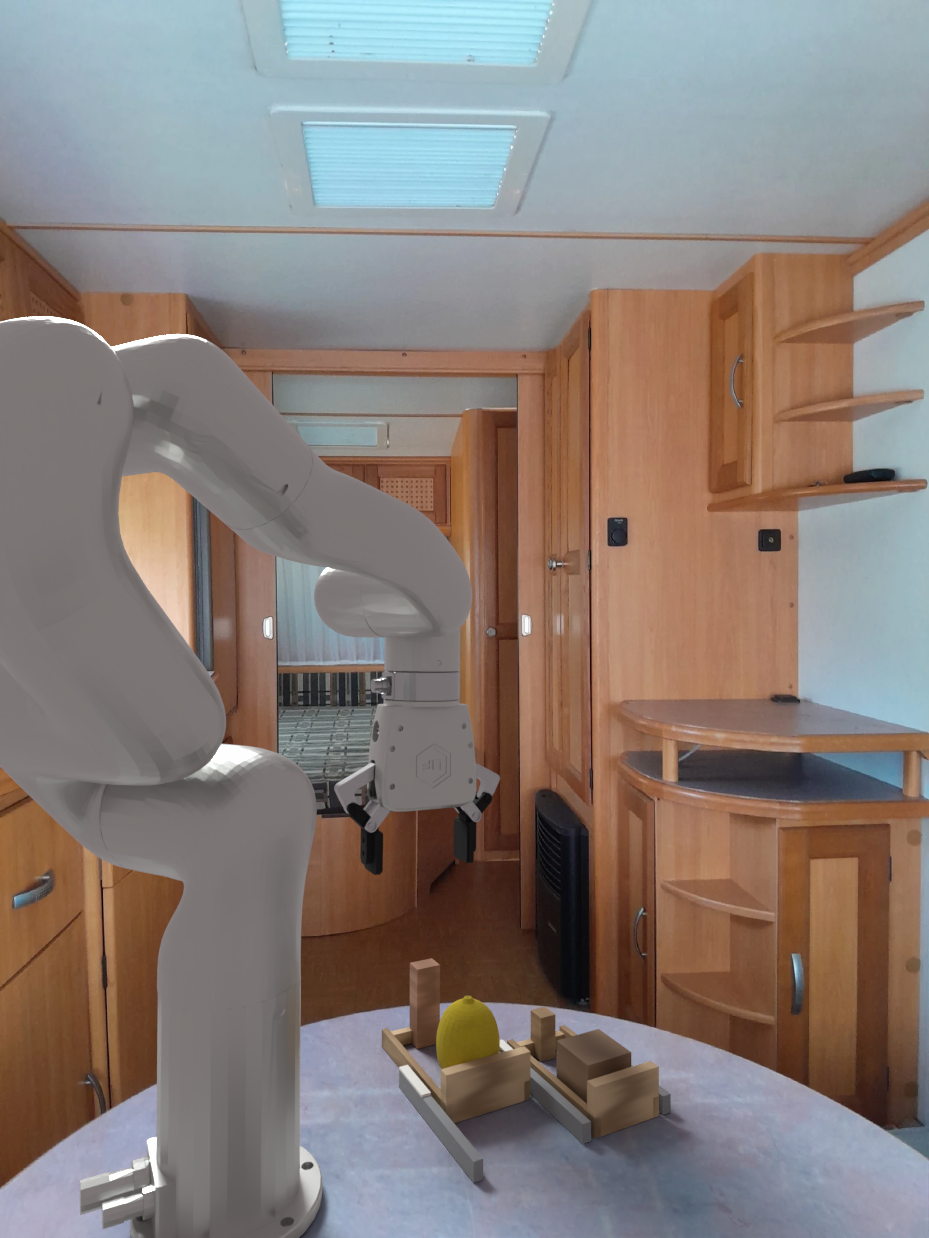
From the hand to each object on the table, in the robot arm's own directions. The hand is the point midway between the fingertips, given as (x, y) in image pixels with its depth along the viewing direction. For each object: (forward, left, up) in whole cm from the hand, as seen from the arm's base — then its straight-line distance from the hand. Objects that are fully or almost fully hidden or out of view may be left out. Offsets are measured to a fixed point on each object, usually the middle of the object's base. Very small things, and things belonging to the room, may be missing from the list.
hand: (419, 865), depth 78 cm
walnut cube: (+9, -16, -17) cm, 25 cm away
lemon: (0, -10, -17) cm, 20 cm away
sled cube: (+9, -13, -17) cm, 23 cm away
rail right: (+13, -15, -17) cm, 26 cm away
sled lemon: (0, -6, -17) cm, 18 cm away
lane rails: (0, -13, -17) cm, 22 cm away
